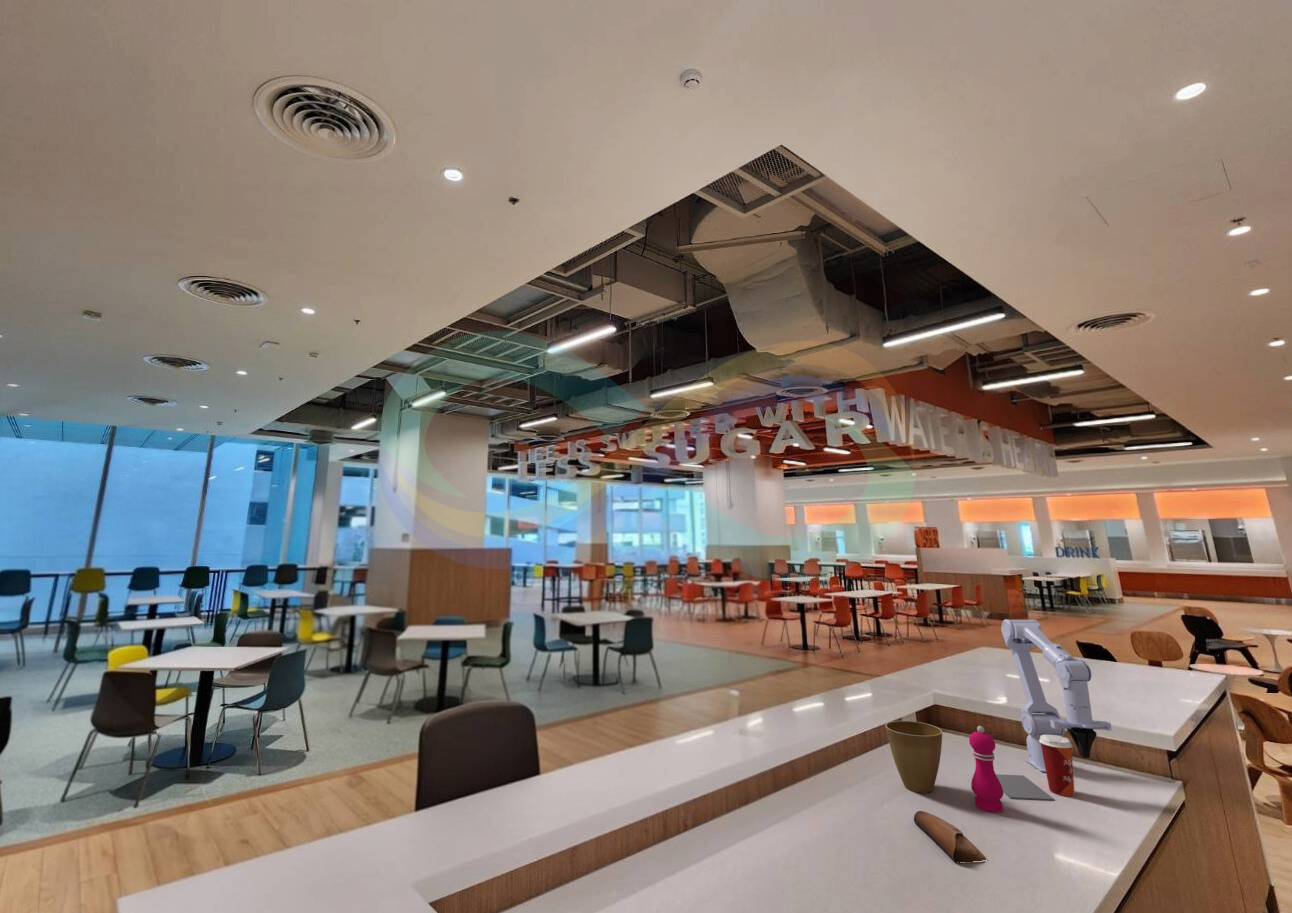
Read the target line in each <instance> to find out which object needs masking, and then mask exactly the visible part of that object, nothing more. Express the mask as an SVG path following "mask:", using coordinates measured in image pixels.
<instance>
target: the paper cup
mask: <svg viewBox="0 0 1292 913" xmlns="http://www.w3.org/2000/svg"><path fill="white" fill-rule="evenodd" d="M1039 742H1040V743H1041V747H1042V753H1043V758H1044V764H1045V769H1046V772H1045V774H1046V779H1047V784H1048V789H1049V792H1051V793H1053V794H1054V795H1058V796H1061V797H1074V796H1075V781H1074V780H1075V778H1074V766H1073V752H1072V751H1073V749H1072V748H1073V746H1074V745H1073V744H1072V743H1071V740H1070V739H1069V738H1067V737H1063V736H1057V735H1041V736H1040V740H1039Z"/></svg>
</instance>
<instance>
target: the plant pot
mask: <svg viewBox="0 0 1292 913" xmlns="http://www.w3.org/2000/svg"><path fill="white" fill-rule="evenodd" d="M885 730H886V736H887V740H888V743H889V746H890V750H891V754H892V758H893V761H894V763H895V765H896V769H897V772H898V774H899V777H900V779H901V782H902V784H903V785H904V788H906V789H907V790H909V791H913V792H917V793H923V794H924V793H931V792H932V791H933V790H934V787H935V784H936V782H937V781H936V780H937V776H938V773H939V768H940V762H941V754H942V745H943V744H942V743H943V730H942V729H941V728H939V727H938V726H935V725H933V724H929V723H925V722H921V721H911V720H896V721H895V720H894V721H889V722H887V723H885Z"/></svg>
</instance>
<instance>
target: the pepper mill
mask: <svg viewBox="0 0 1292 913" xmlns="http://www.w3.org/2000/svg"><path fill="white" fill-rule="evenodd" d="M976 730H977V731H973V732H972V733H971V734H970V735H969V739H968V740H969V741H968V742H969V745H970V747H971V748H972V751H971V752H972V756H973V758H974V760H975V770H974V773H973V775H972V778H971V784H970V786H971V787H970V788H971V791H972V792H973V794H974V795H975V797H974V805H975V807H976V808H978V809H980V810H982V811H984V812H988V813H996V814H997V813H1001V812H1003V810H1004V807H1003V801H1002V800H1001V799H1002V798H1003V797H1004V793H1003V789H1002V786H1001V783H1000V782H999V780H998V778H997V776H996V774H997V773H996V770H995V769H994V761H995V753H994V751H995V750H996V741H995V739H994V738H993V737H992V735H990V734H989V733H988V732H985V728H984V726H981V725H978V726H977V727H976Z"/></svg>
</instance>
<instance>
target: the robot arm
mask: <svg viewBox="0 0 1292 913" xmlns="http://www.w3.org/2000/svg"><path fill="white" fill-rule="evenodd" d="M1000 630H1001V633H1002V637H1003V640H1004V643H1005V645H1006V647H1007V648H1009V650H1010V652H1011V655H1012V658H1013V661H1014V663H1015V664H1014V665H1015V668H1016V671H1017V673H1018V677H1019V680H1020V683H1021V686H1022V690H1023V691H1024V696H1025V699H1026V702H1027V703H1026V704H1025V705H1024V706H1023V707H1022V708H1021V710H1020V714H1021V723H1022V724H1021V725H1022V727H1023V729H1024V731H1025V732H1026V734H1028V735H1027V737H1026V748H1027V749H1026V750H1027V755H1028V756H1027V758H1025V761H1026V762H1028V764H1030V765H1031V766H1033V767H1034V768H1036V769H1037V770H1039V771H1040V772H1041V773H1046V769H1045V764H1044V758H1043V753H1042V747H1041V743H1040V742H1039V740H1040V736H1041V735H1057V736H1062V737H1063V736H1065V733H1066V730H1067V732H1068V733H1069V735H1070V737H1071V738H1072V740H1073V741H1074V744H1075V746H1076V749H1077V751H1078V754H1079V756H1080V757H1082V758H1085V759H1090V755H1091V751H1092V746H1093V744H1094V741H1095V739H1096V738H1097V734H1098V733H1097V732H1096V731H1095V730H1106V731H1111V732H1112V730H1113V729H1112V724H1111V722H1109V721H1106V720H1097V719H1096V720H1093V714H1092V707H1091V700H1090V691H1089V686H1088V682H1090V681H1091V679H1092V670H1091V668H1090V666H1089V665H1088V663H1087V662H1086V661H1085V660H1083V659H1078V658H1074V657H1073V655H1071V654H1070V653H1069V652H1068V651H1067V650H1066V649H1064V647H1063V646H1062V645H1061V644H1059V643H1053V642H1052V641H1051V640H1050V639H1049V637H1047V636H1046V635H1045V633H1044V632H1043V627H1042V625H1041V623H1039V622H1038V621H1037V620H1036V619H1035V618H1033V619H1032V618H1031V619H1006V618H1005V619H1004V620H1003V621H1002V623H1001V628H1000ZM1034 647H1038V648H1039V649H1040V650H1042V656H1043V657H1044V659H1045V660H1046V661H1048V662H1049V663H1050V665H1052V666H1053V667H1054V668H1055V672H1056V675H1057V678H1058V679H1059V684H1060V686H1061V687H1062V688H1063V690H1062V691H1063V695H1064V696H1063V697H1064V704H1065V711H1066V712H1065V713H1066V718H1061V716H1060V713H1059V710H1058V709H1057V708H1056V707H1055V706H1053V705H1051V704H1050V703H1048V702H1047V700H1046V696H1045V694H1044V691H1043V688H1042V685H1041V681H1040V678H1039V676H1038V671H1037V670H1036V667H1035V664H1034V661H1033V657H1032V655H1031V654H1032V653H1031V648H1034Z"/></svg>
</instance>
